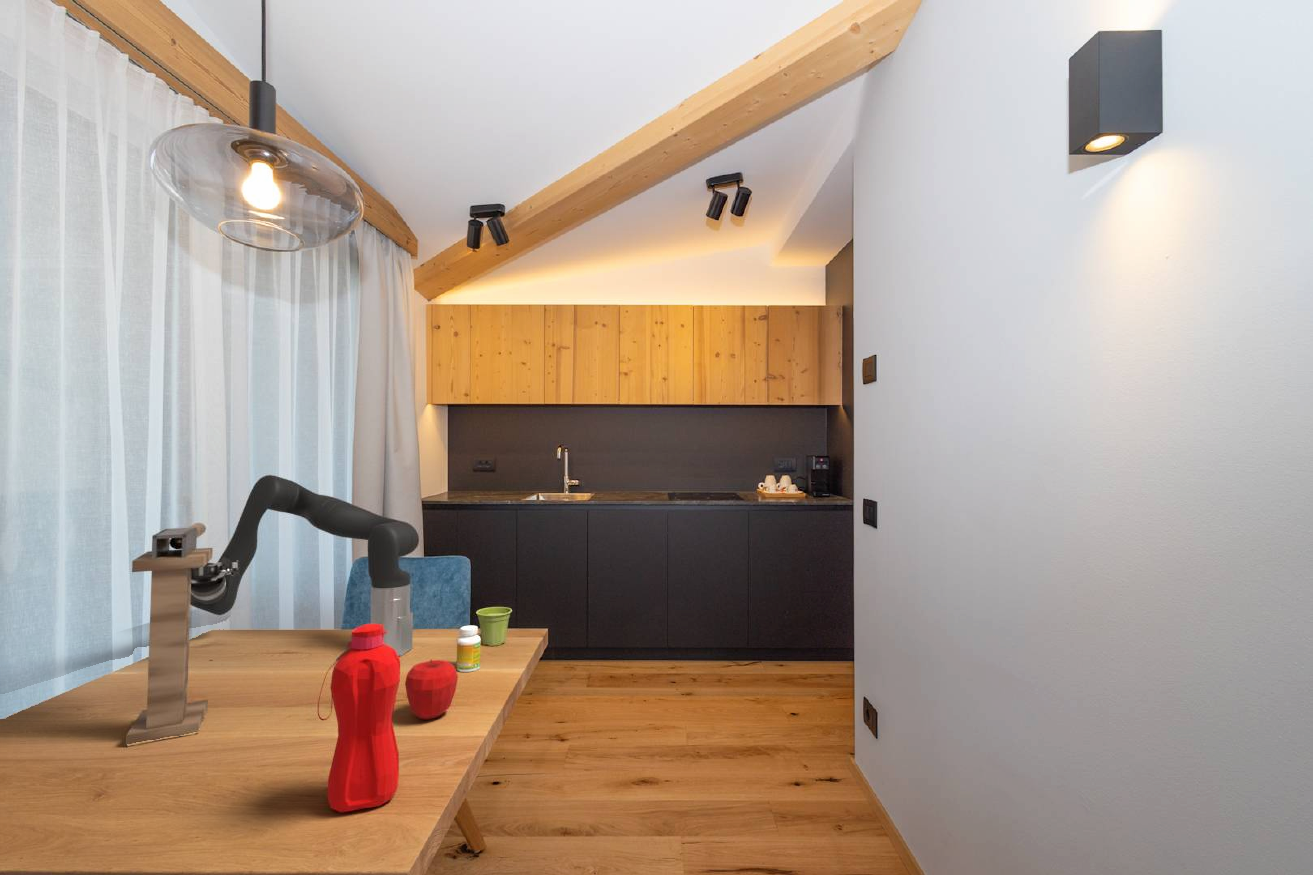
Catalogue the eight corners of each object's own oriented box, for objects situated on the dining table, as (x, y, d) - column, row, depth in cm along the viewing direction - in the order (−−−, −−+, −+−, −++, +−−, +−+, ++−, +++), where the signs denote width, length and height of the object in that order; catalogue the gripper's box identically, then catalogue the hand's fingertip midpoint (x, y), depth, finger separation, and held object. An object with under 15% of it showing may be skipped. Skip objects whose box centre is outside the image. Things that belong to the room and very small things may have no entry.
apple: (439, 729, 110) (440, 669, 111) (393, 724, 112) (394, 665, 113) (466, 707, 120) (467, 652, 120) (423, 703, 122) (424, 649, 122)
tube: (190, 535, 135) (190, 523, 135) (205, 534, 136) (205, 522, 136) (169, 549, 114) (169, 535, 114) (187, 548, 116) (188, 534, 116)
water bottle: (321, 788, 90) (325, 621, 91) (399, 775, 94) (402, 615, 95) (309, 823, 82) (313, 638, 83) (396, 807, 86) (399, 631, 86)
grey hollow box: (165, 550, 116) (166, 528, 116) (196, 548, 118) (196, 527, 118) (151, 559, 105) (152, 535, 106) (185, 557, 108) (186, 534, 108)
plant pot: (473, 640, 164) (473, 608, 165) (507, 636, 168) (508, 605, 169) (478, 650, 156) (479, 616, 156) (514, 645, 160) (515, 612, 160)
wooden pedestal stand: (142, 720, 113) (148, 551, 114) (207, 709, 118) (212, 547, 120) (125, 747, 103) (132, 560, 104) (198, 733, 108) (203, 556, 109)
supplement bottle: (476, 672, 139) (476, 630, 140) (453, 672, 140) (453, 630, 140) (483, 664, 145) (483, 624, 145) (461, 664, 145) (461, 624, 145)
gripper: (171, 571, 147) (161, 551, 135) (241, 563, 155) (238, 544, 143) (170, 601, 144) (160, 584, 132) (241, 592, 152) (238, 574, 140)
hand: (200, 563), depth 137 cm, fingers open, 8 cm apart
